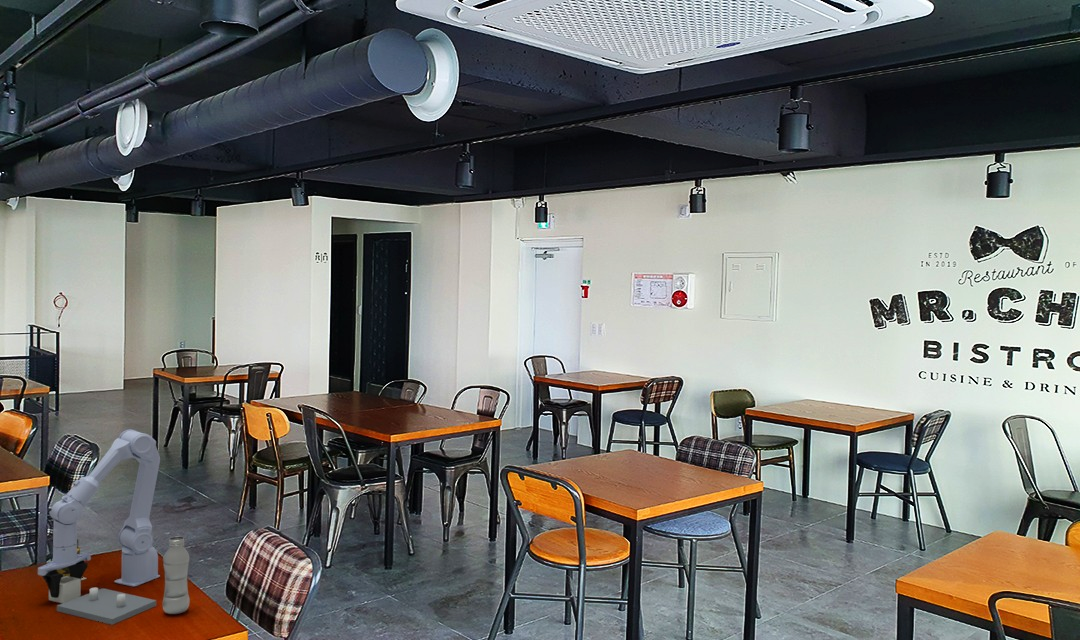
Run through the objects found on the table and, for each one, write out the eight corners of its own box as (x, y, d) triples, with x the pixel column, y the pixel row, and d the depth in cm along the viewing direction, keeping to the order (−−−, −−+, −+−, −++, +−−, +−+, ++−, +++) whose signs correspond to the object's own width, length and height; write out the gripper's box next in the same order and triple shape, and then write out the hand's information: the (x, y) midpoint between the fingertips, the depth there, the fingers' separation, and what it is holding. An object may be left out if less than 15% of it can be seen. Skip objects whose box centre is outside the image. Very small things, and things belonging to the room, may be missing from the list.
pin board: (102, 593, 230) (102, 577, 230) (156, 605, 223) (156, 589, 223) (56, 611, 217) (56, 594, 217) (112, 624, 210) (112, 607, 210)
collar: (66, 593, 230) (66, 575, 229) (80, 596, 228) (80, 578, 227) (48, 599, 225) (48, 581, 224) (62, 603, 223) (62, 585, 222)
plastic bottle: (179, 618, 215) (180, 543, 214) (156, 615, 217) (157, 540, 216) (194, 609, 222) (195, 536, 221) (172, 606, 223) (173, 533, 222)
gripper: (78, 535, 234) (77, 582, 234) (30, 549, 220) (29, 599, 221) (96, 538, 231) (95, 586, 232) (48, 553, 218) (48, 604, 218)
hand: (64, 593), depth 226 cm, fingers closed on collar, 5 cm apart
